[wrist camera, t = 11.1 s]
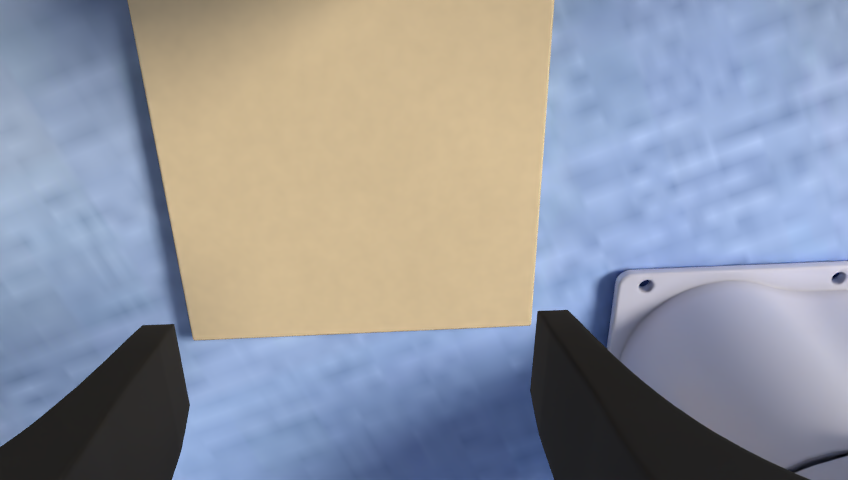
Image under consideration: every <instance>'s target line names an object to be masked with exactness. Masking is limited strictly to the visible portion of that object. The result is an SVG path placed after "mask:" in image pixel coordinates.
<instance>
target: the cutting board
mask: <svg viewBox="0 0 848 480" xmlns="http://www.w3.org/2000/svg"><path fill="white" fill-rule="evenodd" d="M127 1H128V6H129V11H130V16H131V21H132V26H133V32H134V37H135V42H136V47H137V52H138V57H139V63H140V68H141V73H142V78H143V83H144V88H145V94H146V99H147V104H148V109H149V114H150V119H151V125H152V130H153V135H154V140H155V145H156V150H157V156H158V161H159V166H160V171H161V176H162V181H163V187H164V192H165V197H166V202H167V207H168V212H169V218H170V223H171V228H172V233H173V238H174V244H175V249H176V254H177V259H178V264H179V269H180V275H181V280H182V285H183V290H184V295H185V300H186V306H187V311H188V316H189V321H190V326H191V331H192V337H193V340H215V339H237V338H260V337H283V336H305V335H328V334H351V333H373V332H396V331H418V330H441V329H464V328H486V327H509V326H529V325H531V317H532V303H533V289H534V275H535V261H536V247H537V233H538V219H539V206H540V192H541V178H542V164H543V150H544V136H545V122H546V108H547V94H548V81H549V67H550V53H551V39H552V25H553V11H554V0H127Z"/></svg>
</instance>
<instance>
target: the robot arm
mask: <svg viewBox="0 0 848 480" xmlns="http://www.w3.org/2000/svg"><path fill="white" fill-rule="evenodd" d="M838 272H840V273H839V275H838V276H837V277H835V278H832V277H833V275H835V274H836V273H838ZM645 280H650V281H649V283H648V284H647V285H646V286H643V287H640V286H639V285H640V283H641V282H643V281H645ZM530 391H531V397H532V402H533V407H534V413H535V417H536V422H537V427H538V432H539V436H540V439H541V442H542V445H543V448H544V451H545V454H546V457H547V460H548V463H549V466H550V469H551V472H552V474H553V477H554V480H848V261H831V262H807V263H782V264H758V265H733V266H708V267H684V268H659V269H635V270H627V271H624V272H623V273H621V274H620V275H619V276H618V277H617V279H616V282H615V289H614V297H613V304H612V312H611V319H610V327H609V334H608V342H607V348H606V347H604V346H603V345H602V344H601V343H600V342H599V341H598V340H597V339H596V338H595V337H594V336H593V335H592V334H591V333H590V332H589V331H588V330H587V329H586V328H585V327H584V326H583V325H582V324H581V323H580V322H579V321H578V320H577V319H576V318H575V317H574V316H573V315H572V314H571V313H570V312H569V311H568V310H555V311H538V313H537V324H536V335H535V345H534V356H533V367H532V378H531V389H530ZM189 406H190V404H189V399H188V394H187V389H186V383H185V378H184V373H183V368H182V363H181V357H180V352H179V347H178V342H177V337H176V331H175V326H174V324H167V325H142V326H141V327H140V328H139V329H138V330H137V331H136V332H135V333H134V334H133V335H131V336H130V337H129V338H128V339H127V340H126V341H125V342H124V343H123V344H122V345H121V346H120V347H119V348H118V349H117V350H116V351H115V352H114V353H113V354H112V355H111V356H110V357H109V358H108V359H106V360H105V361H104V362H103V363H102V364H101V365H100V366H99V367H98V368H97V369H96V370H95V371H94V372H93V373H91V374H90V375H89V376H88V377H87V378H86V379H85V380H84V381H83V382H82V383H81V384H80V385H78V386H77V387H76V388H75V389H74V390H73V391H71V392H70V393H69V394H68V395H67V396H65V397H64V398H63V399H62V400H61V401H60V402H58V403H57V404H56V405H55V406H54V407H52V408H51V409H50V410H49V411H48V412H46V413H45V414H44V415H43V416H42V417H40V418H39V419H38V420H37V421H35V422H34V423H33V424H32V425H30V426H29V427H28V428H26V429H25V430H24V431H22V432H21V433H20V434H18V435H17V436H15V437H14V438H13V439H11V440H10V441H8V442H7V443H5V444H4V445H3V446H1V447H0V480H172V477H173V474H174V471H175V468H176V465H177V462H178V459H179V456H180V453H181V449H182V444H183V439H184V434H185V429H186V423H187V417H188V412H189Z"/></svg>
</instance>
